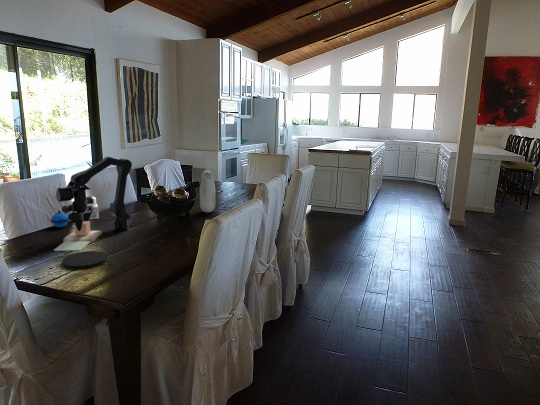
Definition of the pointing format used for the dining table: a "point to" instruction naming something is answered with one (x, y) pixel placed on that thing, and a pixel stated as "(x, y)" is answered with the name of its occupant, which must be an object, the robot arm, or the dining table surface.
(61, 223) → the ornament
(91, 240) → the post base
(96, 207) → the container
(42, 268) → the dining table surface
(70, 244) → the mat
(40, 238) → the dining table surface
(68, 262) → the wireless charger
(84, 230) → the salmon pink cube
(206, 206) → the white tall cylinder
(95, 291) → the dining table surface
